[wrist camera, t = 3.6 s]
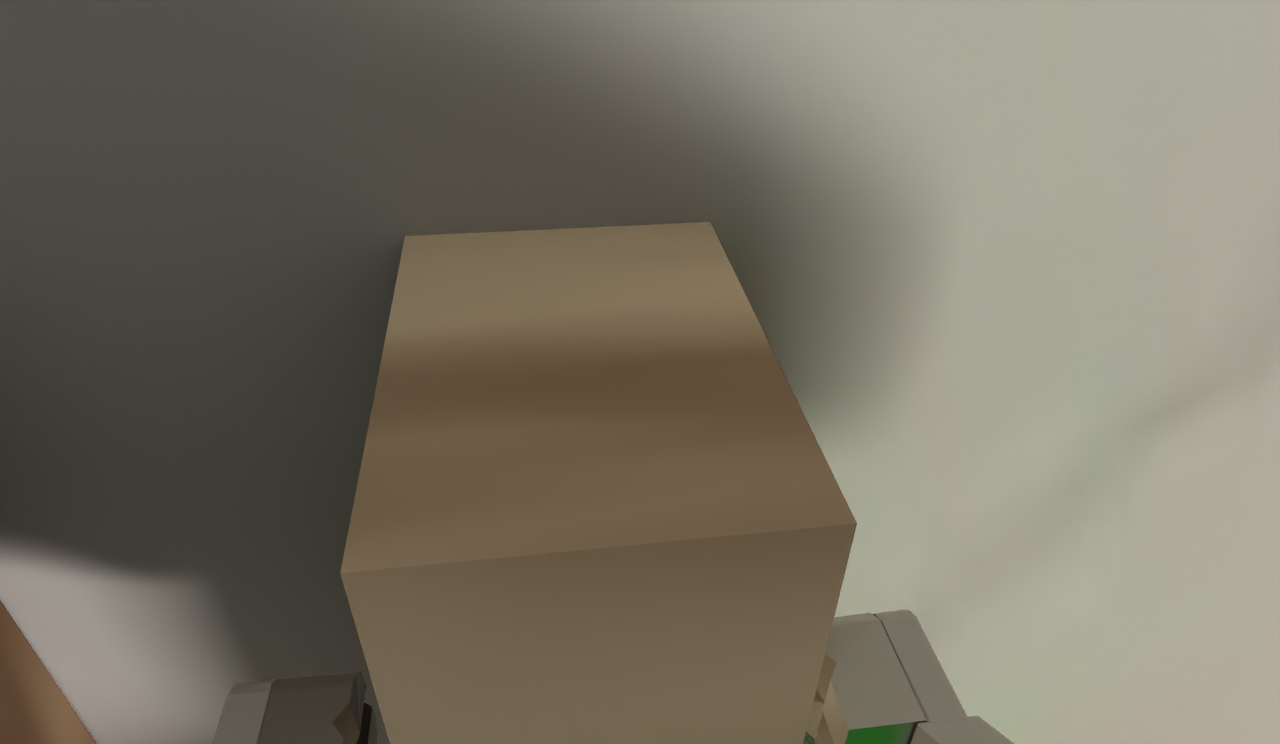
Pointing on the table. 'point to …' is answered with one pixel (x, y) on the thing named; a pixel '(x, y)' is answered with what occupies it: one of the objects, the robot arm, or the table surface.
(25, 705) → the brown wooden block
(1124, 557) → the table surface
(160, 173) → the table surface
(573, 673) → the tall wooden pillar
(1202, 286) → the table surface
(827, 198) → the table surface
